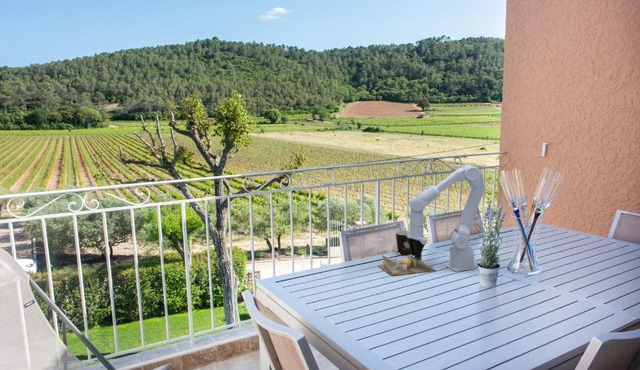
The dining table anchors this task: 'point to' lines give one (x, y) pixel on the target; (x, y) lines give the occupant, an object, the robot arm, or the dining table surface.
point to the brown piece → (403, 267)
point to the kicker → (413, 260)
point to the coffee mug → (402, 243)
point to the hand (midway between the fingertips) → (415, 256)
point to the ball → (406, 262)
